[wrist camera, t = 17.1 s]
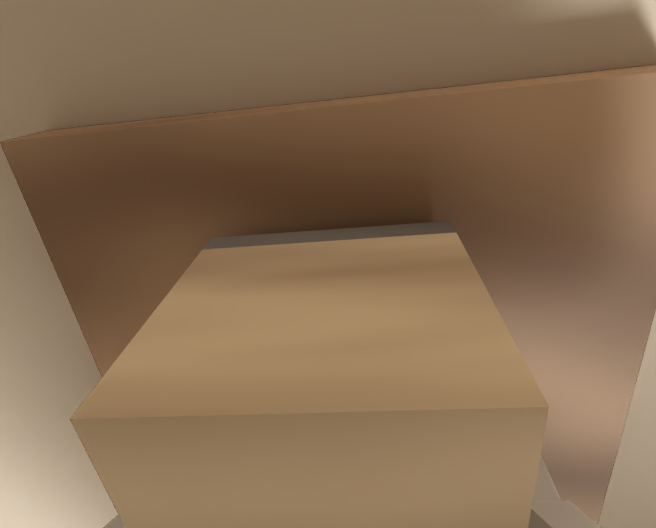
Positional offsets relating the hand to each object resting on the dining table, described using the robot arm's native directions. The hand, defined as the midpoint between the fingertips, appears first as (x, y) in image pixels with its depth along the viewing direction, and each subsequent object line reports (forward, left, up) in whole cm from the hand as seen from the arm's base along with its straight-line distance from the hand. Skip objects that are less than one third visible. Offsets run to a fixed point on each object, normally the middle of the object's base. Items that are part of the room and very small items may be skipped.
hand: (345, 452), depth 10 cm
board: (-3, 0, -3) cm, 4 cm away
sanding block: (+1, 0, -1) cm, 1 cm away
